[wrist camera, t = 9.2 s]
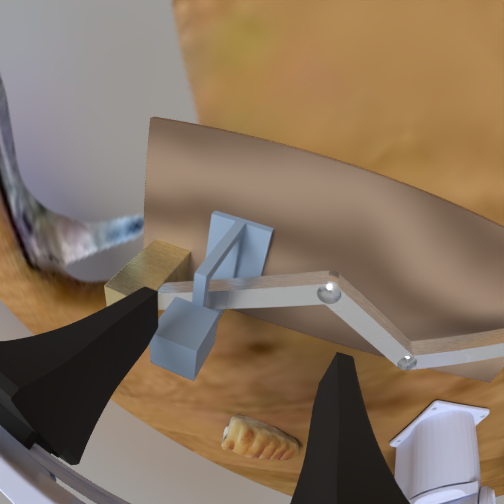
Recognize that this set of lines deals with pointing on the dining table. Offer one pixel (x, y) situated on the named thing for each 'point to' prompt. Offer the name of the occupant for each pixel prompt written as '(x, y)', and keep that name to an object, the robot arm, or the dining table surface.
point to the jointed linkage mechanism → (298, 294)
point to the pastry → (258, 440)
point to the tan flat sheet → (332, 234)
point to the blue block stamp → (195, 313)
